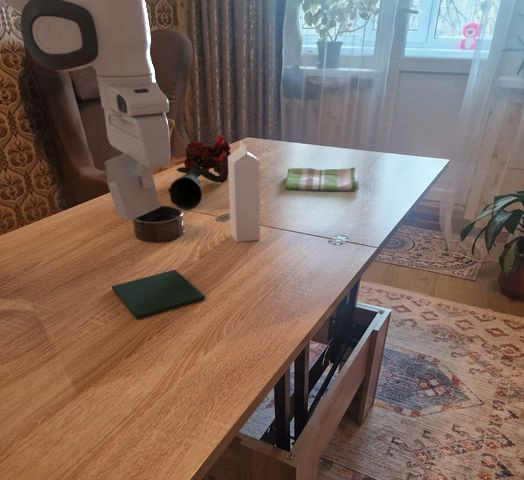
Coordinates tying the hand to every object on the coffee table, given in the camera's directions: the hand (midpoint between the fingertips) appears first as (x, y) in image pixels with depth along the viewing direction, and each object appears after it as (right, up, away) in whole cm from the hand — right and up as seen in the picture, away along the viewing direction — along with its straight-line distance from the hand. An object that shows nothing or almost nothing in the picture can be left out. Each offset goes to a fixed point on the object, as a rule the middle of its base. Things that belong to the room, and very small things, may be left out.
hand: (141, 183), depth 84 cm
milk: (+17, -1, +36) cm, 40 cm away
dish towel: (+40, +25, +73) cm, 87 cm away
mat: (0, -18, +12) cm, 22 cm away
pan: (-5, +1, +38) cm, 39 cm away
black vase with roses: (+2, +20, +66) cm, 69 cm away
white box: (-1, -4, +2) cm, 5 cm away
